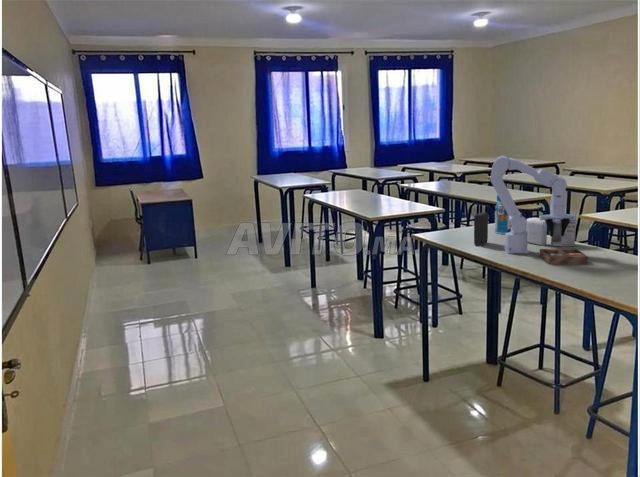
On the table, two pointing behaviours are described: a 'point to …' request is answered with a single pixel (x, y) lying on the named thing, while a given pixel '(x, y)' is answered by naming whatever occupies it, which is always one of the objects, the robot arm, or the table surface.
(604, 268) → the table surface
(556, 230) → the plug
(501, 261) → the table surface
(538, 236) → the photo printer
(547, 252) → the socket board
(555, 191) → the robot arm
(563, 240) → the ink cartridge box
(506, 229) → the beverage bottle
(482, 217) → the black upright block
